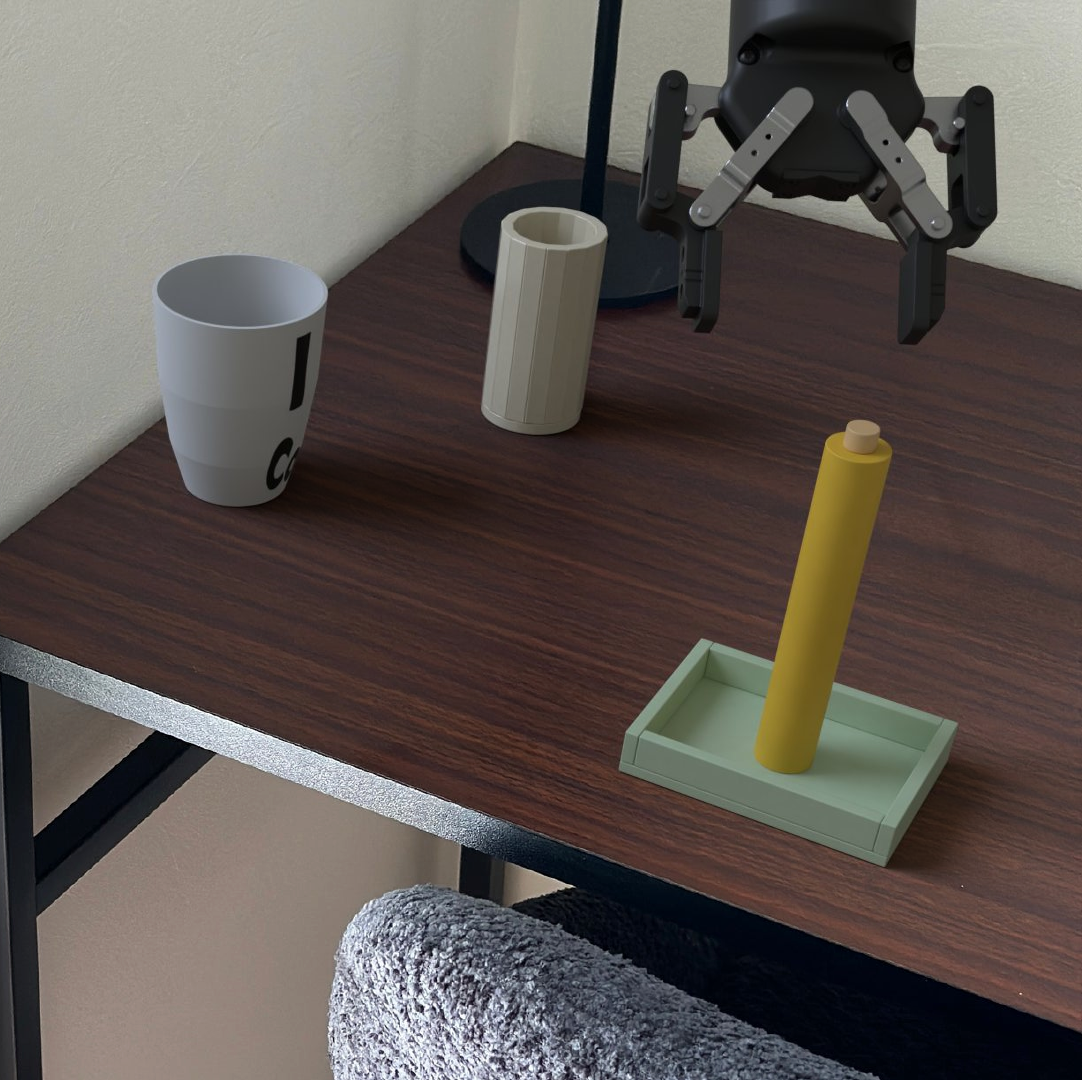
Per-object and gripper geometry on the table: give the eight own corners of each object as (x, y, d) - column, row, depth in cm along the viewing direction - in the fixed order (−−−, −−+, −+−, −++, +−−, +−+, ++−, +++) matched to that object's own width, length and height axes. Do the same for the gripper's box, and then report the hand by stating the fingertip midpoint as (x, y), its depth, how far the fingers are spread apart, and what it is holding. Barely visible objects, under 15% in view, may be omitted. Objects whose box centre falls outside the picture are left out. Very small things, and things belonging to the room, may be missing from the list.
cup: (303, 531, 99) (314, 336, 93) (136, 512, 100) (136, 318, 94) (326, 450, 105) (338, 262, 99) (169, 433, 106) (171, 245, 100)
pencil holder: (577, 390, 111) (603, 209, 105) (583, 437, 107) (611, 251, 101) (479, 385, 111) (499, 204, 105) (482, 432, 107) (503, 246, 101)
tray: (947, 761, 86) (959, 722, 85) (884, 868, 81) (896, 827, 79) (693, 675, 91) (701, 637, 89) (618, 770, 85) (625, 731, 84)
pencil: (808, 740, 86) (891, 413, 77) (816, 776, 84) (903, 444, 75) (749, 737, 86) (825, 409, 77) (757, 772, 84) (836, 441, 75)
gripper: (670, -100, 84) (652, 291, 82) (1027, -83, 83) (1016, 310, 82) (638, -5, 91) (621, 354, 90) (966, 10, 91) (954, 372, 89)
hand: (809, 333), depth 86 cm, fingers open, 8 cm apart
